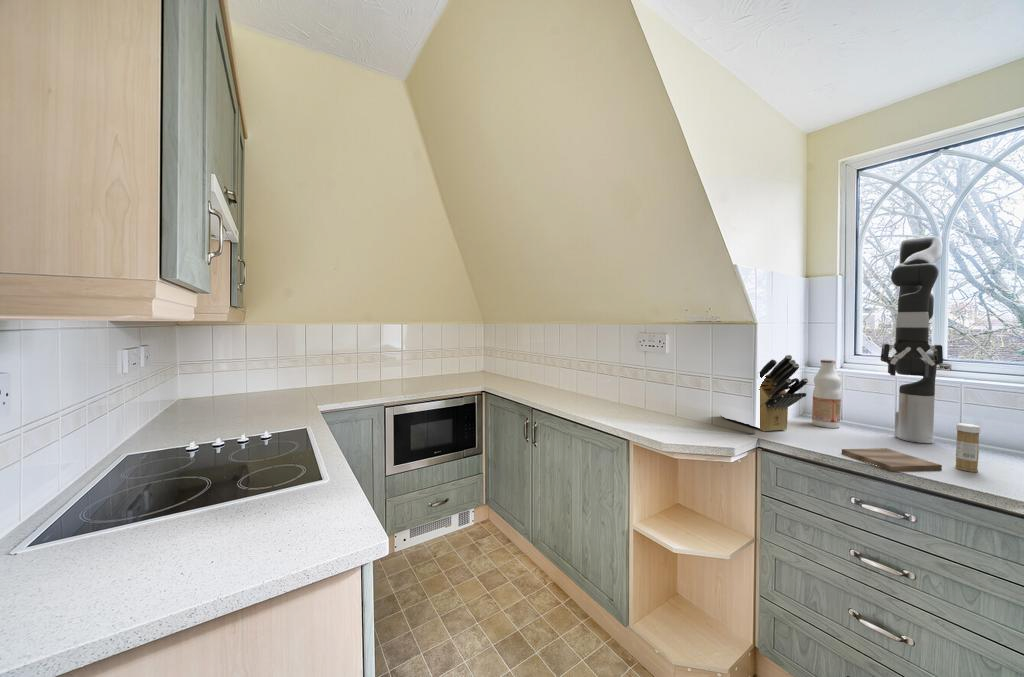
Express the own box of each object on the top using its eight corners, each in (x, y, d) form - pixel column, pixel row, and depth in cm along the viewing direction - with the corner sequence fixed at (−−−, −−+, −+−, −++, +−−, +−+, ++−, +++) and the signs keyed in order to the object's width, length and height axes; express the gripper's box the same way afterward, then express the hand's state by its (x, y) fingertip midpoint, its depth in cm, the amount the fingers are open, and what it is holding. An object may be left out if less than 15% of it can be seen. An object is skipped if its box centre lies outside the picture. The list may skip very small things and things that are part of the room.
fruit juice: (817, 427, 165) (820, 360, 164) (807, 422, 174) (809, 358, 173) (844, 429, 162) (847, 361, 161) (833, 423, 171) (835, 359, 170)
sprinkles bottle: (979, 470, 116) (981, 425, 116) (976, 473, 114) (978, 427, 113) (956, 465, 120) (958, 422, 120) (953, 468, 118) (955, 423, 117)
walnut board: (841, 453, 131) (841, 449, 131) (886, 452, 132) (886, 448, 132) (891, 471, 115) (891, 466, 115) (941, 470, 116) (941, 465, 116)
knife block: (784, 439, 148) (787, 356, 146) (717, 417, 182) (718, 350, 181) (809, 437, 150) (812, 356, 149) (738, 416, 184) (739, 350, 183)
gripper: (936, 326, 128) (934, 376, 129) (879, 326, 135) (877, 373, 135) (948, 326, 121) (946, 379, 122) (887, 326, 128) (885, 376, 129)
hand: (910, 376), depth 129 cm, fingers open, 8 cm apart
